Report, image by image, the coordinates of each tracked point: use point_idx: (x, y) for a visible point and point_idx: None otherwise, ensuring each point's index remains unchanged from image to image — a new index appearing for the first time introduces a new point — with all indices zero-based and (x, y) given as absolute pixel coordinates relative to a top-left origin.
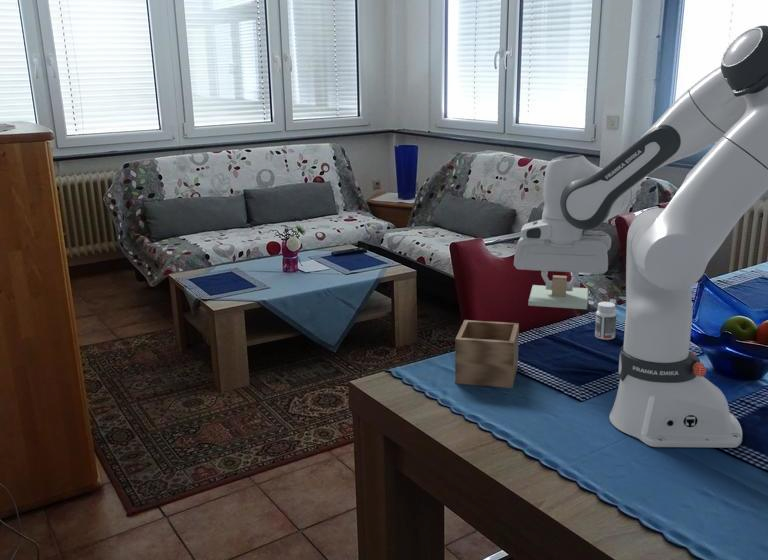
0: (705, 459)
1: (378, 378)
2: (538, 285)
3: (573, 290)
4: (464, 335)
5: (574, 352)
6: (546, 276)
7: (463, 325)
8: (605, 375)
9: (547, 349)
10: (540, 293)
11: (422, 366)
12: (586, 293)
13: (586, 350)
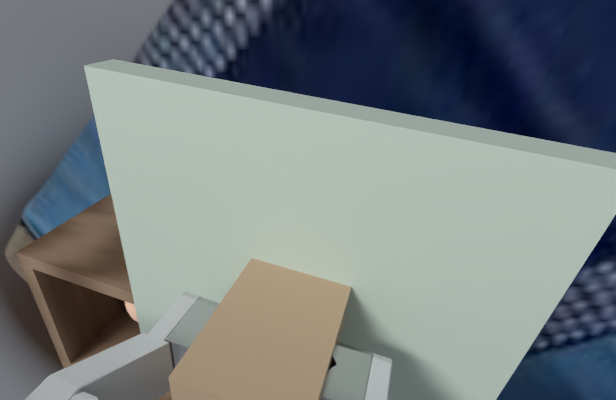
0: None
1: (23, 247)
2: (129, 76)
3: (433, 233)
4: (69, 308)
5: (448, 121)
6: (121, 388)
7: (36, 294)
8: None
9: (346, 90)
10: (180, 274)
11: (60, 203)
12: (535, 319)
13: (509, 98)
